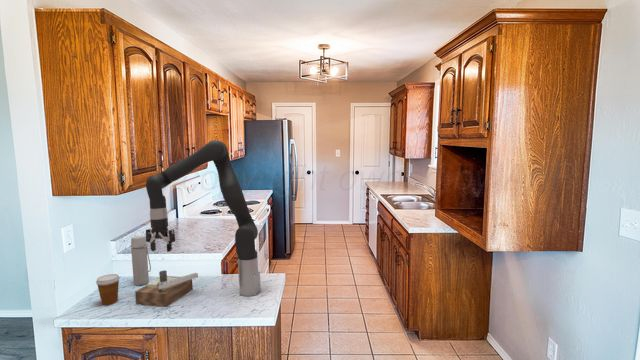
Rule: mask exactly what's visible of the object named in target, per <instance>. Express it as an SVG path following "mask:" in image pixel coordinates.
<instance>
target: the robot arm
mask: <svg viewBox="0 0 640 360" xmlns="http://www.w3.org/2000/svg"><path fill="white" fill-rule="evenodd" d="M230 158H231V157H230V153H229V150H228V147H227V145H226V143H224V142H223V141H221V140H215V139H214V140H210V141H209V142H207V143H206V144H205V145H203V146H202V147H201V148H200V149H198V150H197V151H196V152H194V153H192V154H191V155H188V156H187V157H186V158H185V157H184V158H183V159H182V160H180V161H177V162H176V163H173V164H172V165H170V166H168V167H166V169H164V170H162V171H161V172H159V173H157V174H154V175H150V176H148V177H147V179H146V181H145V187H146V193H147V196H148V199H149V220H150V221H149V223H150V228H148V229H146V230H145V238H146V243H149V244H150V250H151V252H155V251H156V250H157V245H156V244H157V243H156V241H157V240H158V239H159V240H163V241H164V242H165V243H166V252H167V253H168V252H172V250H173V247H172V246H173V244H172V243H174V242H176V235H175V234H176V233H175V229H169V228H168V227H169V219H168V218H169V216H168V209H167V199H166V196H165V195H164V193H163V189H164V188H166V187H167V186H169V185H170V184H172V183H173V182H175V181H178V180H180V179H181V178H183V177H185V176H187V175H189V174H190V173H192V172H193V171H194V170H196V169H197V168H199V167H200V166H203V165H204V164H207V163H209V162H210V163H211V162H213V165H214V166H215V169H216V170H217V171H216V172H217V174H218V175H217V177H218V182H219V188H220V192H221V195H222V197H223V200H224V202H225V204H226V206H227V207H228V209H229V210H230V211H231V212H232V213H233V215H234V217H235V220H236V222H237V223H236V224H237V225H238V228H237V229H236V231H235V235H234V241H235V243H234V244H235V253H236V255H237V268H238V285H239V286H238V287H239V295H241V296H243V297H250V296H251V297H252V296H257V295H258V294H259V293H260V292H261V290H262V289H261V287H262V286H261V272H260V271H259V261H258V260H259V259H258V251H257V249H256V243H255V242H256V241H255V240H256V239H257V238H258V234H259V230H258V228H257V225H256V223H255V221H254V219H253V217H252V215H251V212H250V211H249V207H248V204H247V201H246V198H245V195H244V191H243V189H242V187H241V184H240V182H239V180H238V179H239V178H238V176H237V175H236V172H235V170H234V167H233V166H232V161H231V159H230Z"/></svg>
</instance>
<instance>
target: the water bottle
mask: <svg viewBox="0 0 640 360" xmlns="http://www.w3.org/2000/svg"><path fill="white" fill-rule="evenodd" d="M130 239H131V240H130V250H131V251H130V252H131V264H132V277H133V285H135V286H143V285H144V286H145V285H147V284H148V283H150V279H149V278H150V276H149V275H150V274H149V273H150V272H151V271H152V270H151V269H152V265H151V260H150V255H149V250H148V246H149V245H148V244H147V243H148V242H146V235H144V234H143V235H134V236H132V237H130Z"/></svg>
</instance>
